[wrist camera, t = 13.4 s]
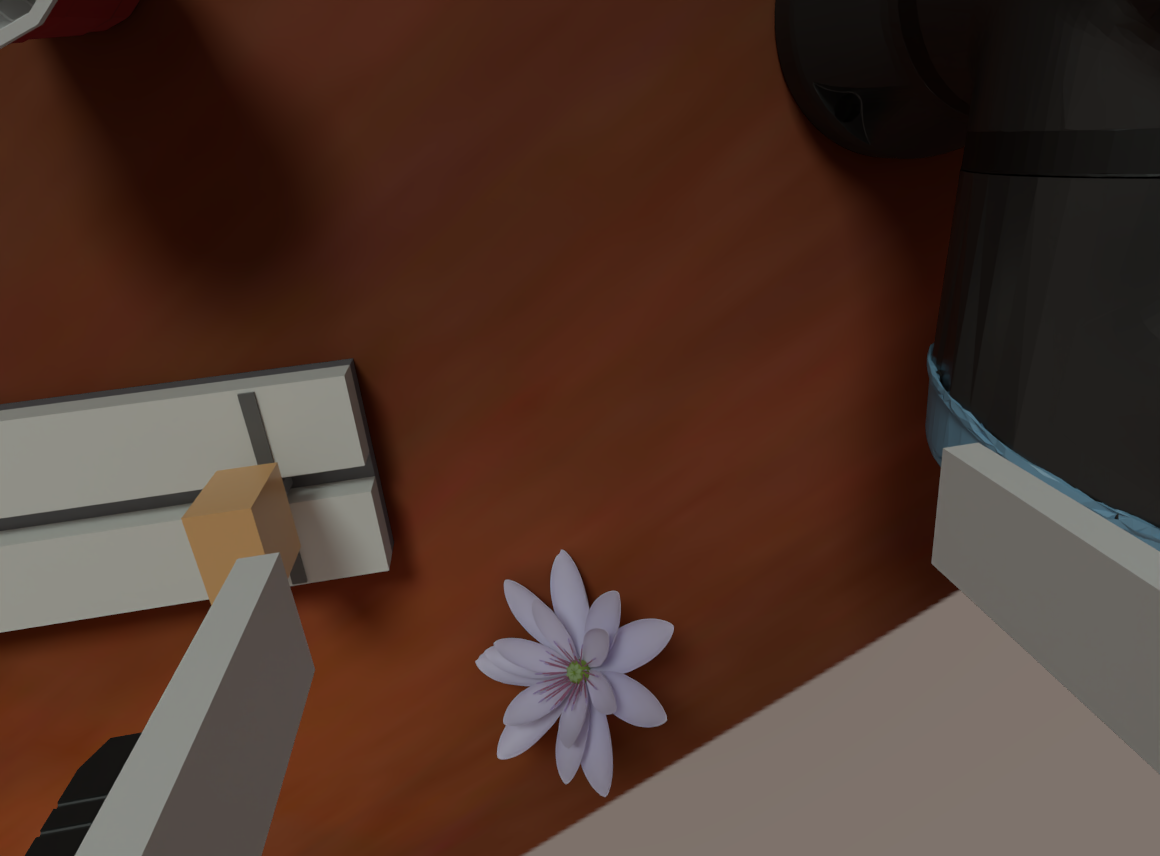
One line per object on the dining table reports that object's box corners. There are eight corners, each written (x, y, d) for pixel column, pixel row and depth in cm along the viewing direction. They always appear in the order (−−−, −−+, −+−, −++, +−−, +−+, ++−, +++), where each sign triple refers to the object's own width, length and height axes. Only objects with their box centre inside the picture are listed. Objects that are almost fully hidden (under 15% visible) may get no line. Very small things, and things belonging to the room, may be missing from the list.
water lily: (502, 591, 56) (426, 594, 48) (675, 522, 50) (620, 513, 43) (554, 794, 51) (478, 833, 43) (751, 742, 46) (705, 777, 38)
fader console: (-150, 424, 38) (-205, 449, 35) (352, 358, 41) (343, 376, 38) (-53, 611, 43) (-94, 649, 40) (393, 542, 45) (388, 572, 42)
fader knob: (237, 442, 40) (180, 518, 32) (293, 434, 40) (250, 508, 32) (261, 521, 42) (213, 611, 34) (314, 513, 42) (279, 601, 34)
